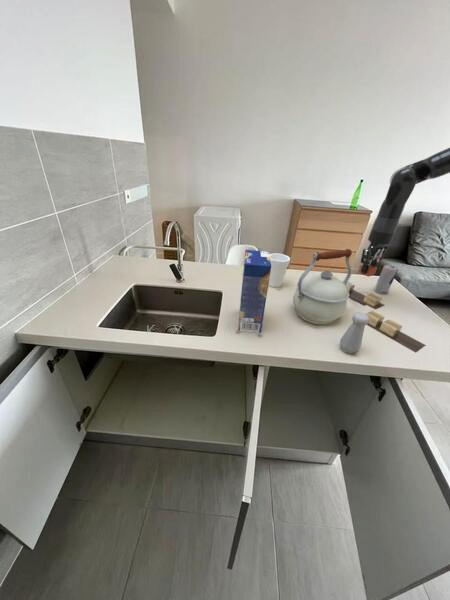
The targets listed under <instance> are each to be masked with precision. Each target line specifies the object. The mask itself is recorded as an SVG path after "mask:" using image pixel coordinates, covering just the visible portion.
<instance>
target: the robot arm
mask: <svg viewBox="0 0 450 600" xmlns="http://www.w3.org/2000/svg"><path fill="white" fill-rule="evenodd" d="M448 174H450V147H448V148H445V149H443V150H440V151H438V152H436V153H434V154H431V155H430V156H428V157H426V158H424V159H421V160H419V161H416V162H413V163H410V164H408V165H405V166H403V167H400V168H399V169H396V170H395V171H394V172H393V173H392V174H391V176H390V178H389V186H388V189H387V193H386V195H385V198H384V199H383V201H382V203H381V205H380V208H379V210H378V213H377V215H376V218H375V219H374V222H373V224H372V228H371V229H370V232H369V235H368V238H367V240H368V242H370V244H369V245H368V246H367V247H368V248H363V250H362V254H361V259H360V263H361V264H362V265H363V266H362V269H361V273H363V274H366V273H367V271H368V269H369V266H370V265H371V266H374V267H377V264H378V263H379V262H381V261H382V260H383V258H384V256H385V254H386V252H387V251H388V249H389V245H390V244H391V243H392V241H393V238H394V236H395V233H396V231H397V230H398V229H397V228H398V226H399V223H400V220H401V216H402V215H403V212H404V209H405V207H406V204H407V202H408V200H409V198H410V197H411V195H412V193H413V191H414V190H415V187H416V185H417V184H420V183H422V182H425V181H428V180H434V179H437V178H440V177H442V176H446V175H448ZM361 273H360V274H361ZM363 274H362V275H363Z"/></svg>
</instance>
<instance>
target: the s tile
mask: <svg viewBox="0 0 450 600" xmlns="http://www.w3.org/2000/svg"><path fill="white" fill-rule="evenodd" d="M362 266H363V264H361V265H360V266H359V269H358V271H357V273H358V274H360V275H363V276H366V277H368V278H370V277H372V276H375V275H376V271H377V270H378V267H377V266H376V267H374V266H371V265H370V266H369V269H368V271H367V273H366V274H363V273H361V269H362Z"/></svg>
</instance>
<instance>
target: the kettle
mask: <svg viewBox="0 0 450 600" xmlns="http://www.w3.org/2000/svg"><path fill="white" fill-rule="evenodd" d="M352 251H353V250H352V249H350V248H345V250H342V249H336V250H329V251H328V250H327V251H323V252H319V251H318V252H314V253H313V255H312V259H311V263H310V265H309V266H308V267H307V268H306V269H305V270H304V272H303V273H302V274H301V275H300V276H299V278H298V281H297V283H296V287H297V288H296V289H295V291H294V293H293V296H292V303H293V305H294V308H295V311H296V314H297V315H298V316H299V317H300V318H301V319H302V320H304V321H306V322H308V323H310V324H315V325H324V324H325V325H326V324H330V323H333V322H334V321H335V320H337V319H339V318H341V317H342V316H343V315H344V314H345V311H346V309H347V305H348V303H347V301H348V299H350V298H349V292H348V291H349V290H350V288H351V287H352V286H353V284H354V283H352V282H350V283H347V282H349V280H350V278H351V276H352V273H353V271H352V267H351V263H350V258H351V256H352V253H353V252H352ZM344 257H345V260H344V261H345V264H346V268H347V274H346V276H345V278H344V280H343V281H342V280H341V279H339V278H338V277H336V276H334V275H333V273H332V272H331V271H330V270H328V269H327V270H323V271H321V272H320V273H318V272H317V273H316V272H315V273H310V271H311V270H312V269H313V268H314V267H315V265H316V262H318V261H320V260H335V259H340V258H344ZM309 273H310V274H309ZM346 283H347V285H346ZM345 285H346V286H345Z"/></svg>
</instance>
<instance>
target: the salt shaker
mask: <svg viewBox="0 0 450 600" xmlns="http://www.w3.org/2000/svg"><path fill="white" fill-rule="evenodd" d="M351 321H352V323H351V324H350V325H349V327H348V328H347V329H346V331H345V332H344V333H343V335H342V336H341V337H340V340H339V344H340V349H341V350H342V352H344V353H347V354H350V355H352V354H355V353H356V352H357V351H359V350H360V349H361V347H362V343H363V337H364V333H365V327H366V326H368V325H367V324H368V323H369V317H368V316H367V315H366V313H364V312H359V311H358V312H354V313H353V314H352V317H351Z"/></svg>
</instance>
